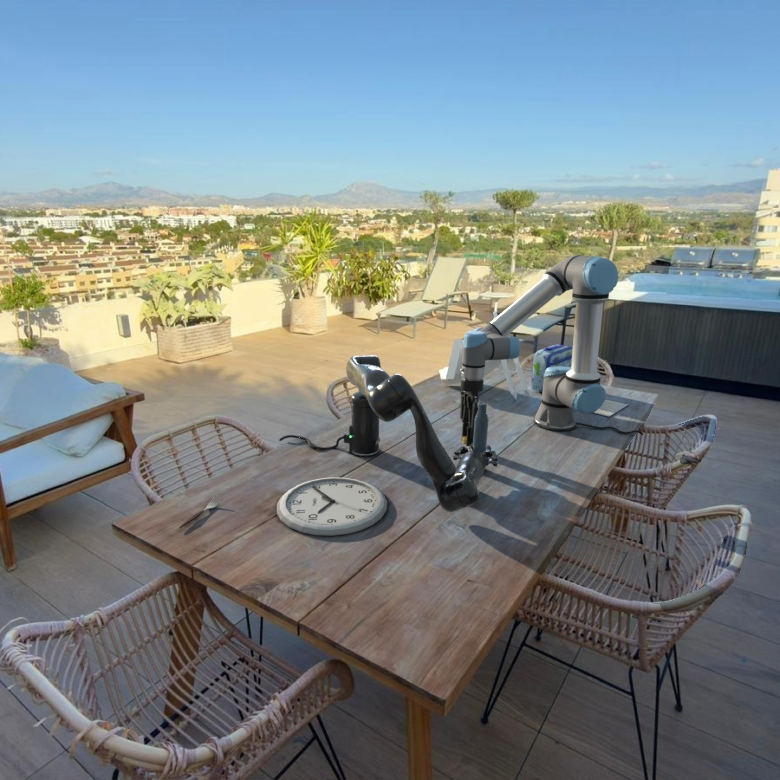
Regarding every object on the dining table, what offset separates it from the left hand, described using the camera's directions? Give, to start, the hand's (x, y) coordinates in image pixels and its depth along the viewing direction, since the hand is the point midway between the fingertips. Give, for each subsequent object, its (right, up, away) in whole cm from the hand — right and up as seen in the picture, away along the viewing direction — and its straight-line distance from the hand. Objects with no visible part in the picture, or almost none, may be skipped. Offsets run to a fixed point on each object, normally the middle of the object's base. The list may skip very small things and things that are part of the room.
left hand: (480, 446), depth 166 cm
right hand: (-2, 0, +15) cm, 15 cm away
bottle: (-1, -7, 0) cm, 7 cm away
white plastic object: (+13, +17, +77) cm, 80 cm away
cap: (-2, +1, +14) cm, 14 cm away
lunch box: (+48, +18, +84) cm, 99 cm away
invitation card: (+63, +11, +60) cm, 88 cm away
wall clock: (-45, -13, -23) cm, 52 cm away
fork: (-78, -15, -29) cm, 85 cm away
